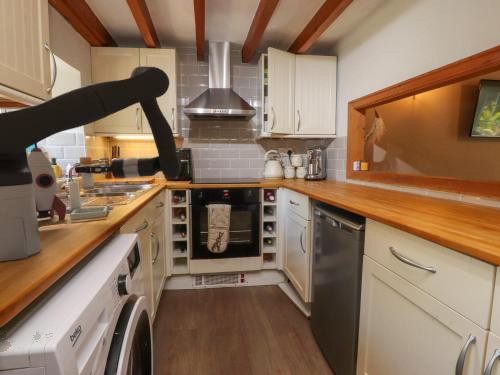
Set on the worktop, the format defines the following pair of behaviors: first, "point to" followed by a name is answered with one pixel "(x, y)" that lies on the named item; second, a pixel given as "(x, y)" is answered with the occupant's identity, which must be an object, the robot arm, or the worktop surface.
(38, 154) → the toy
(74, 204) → the cylinder
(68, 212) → the holder
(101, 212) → the tray
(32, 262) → the worktop surface
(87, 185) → the cylinder
